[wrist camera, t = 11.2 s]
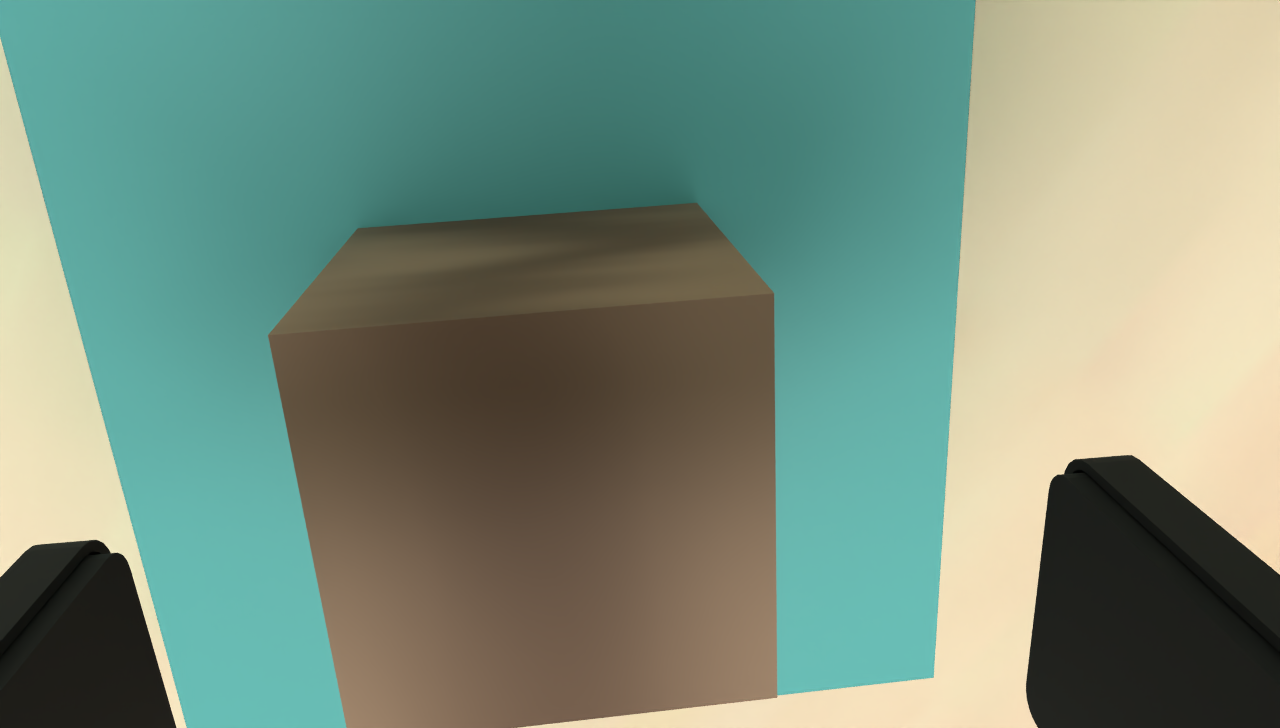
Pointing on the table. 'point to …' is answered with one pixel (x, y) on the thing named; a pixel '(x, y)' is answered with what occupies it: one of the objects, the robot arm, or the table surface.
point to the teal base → (493, 188)
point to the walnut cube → (538, 467)
